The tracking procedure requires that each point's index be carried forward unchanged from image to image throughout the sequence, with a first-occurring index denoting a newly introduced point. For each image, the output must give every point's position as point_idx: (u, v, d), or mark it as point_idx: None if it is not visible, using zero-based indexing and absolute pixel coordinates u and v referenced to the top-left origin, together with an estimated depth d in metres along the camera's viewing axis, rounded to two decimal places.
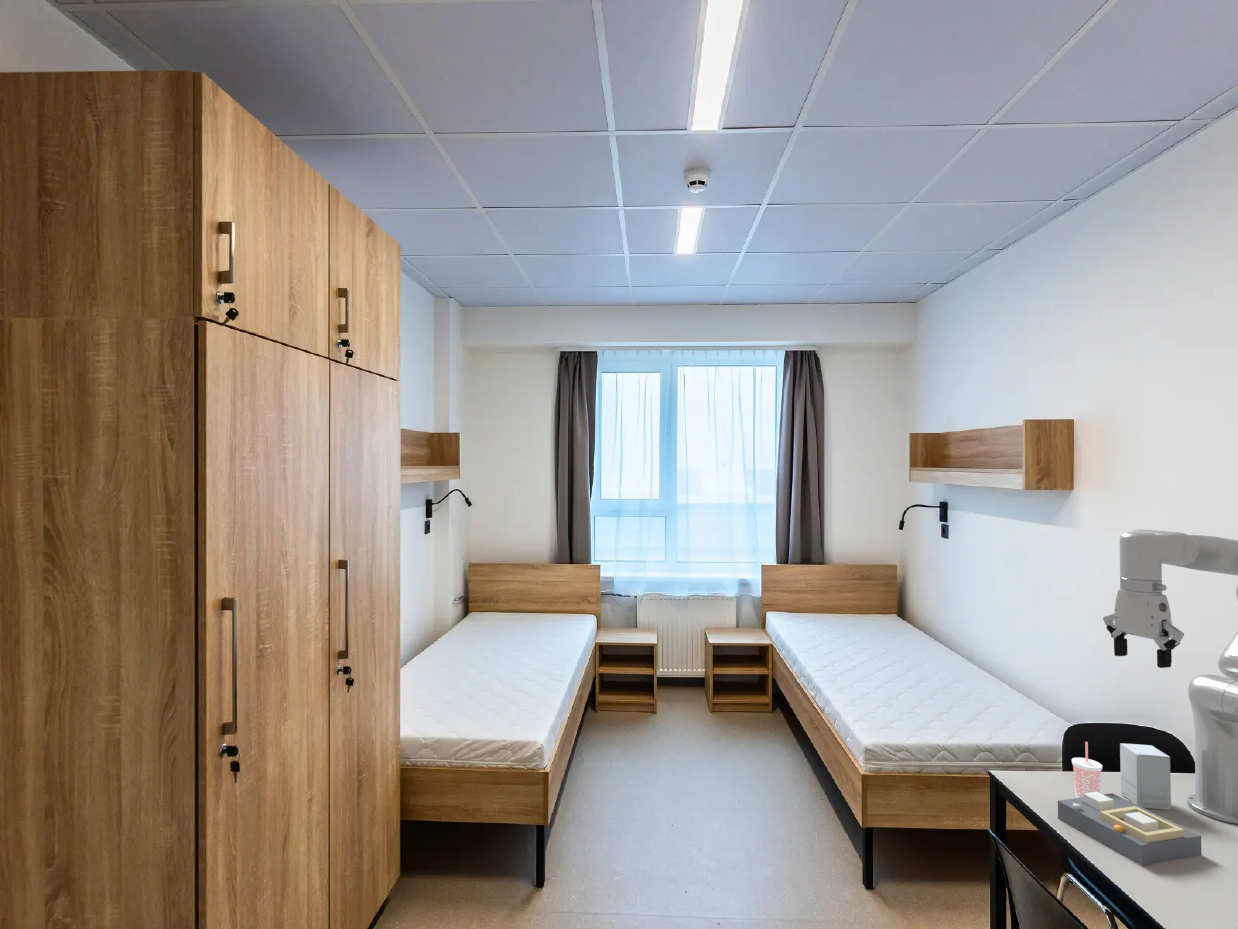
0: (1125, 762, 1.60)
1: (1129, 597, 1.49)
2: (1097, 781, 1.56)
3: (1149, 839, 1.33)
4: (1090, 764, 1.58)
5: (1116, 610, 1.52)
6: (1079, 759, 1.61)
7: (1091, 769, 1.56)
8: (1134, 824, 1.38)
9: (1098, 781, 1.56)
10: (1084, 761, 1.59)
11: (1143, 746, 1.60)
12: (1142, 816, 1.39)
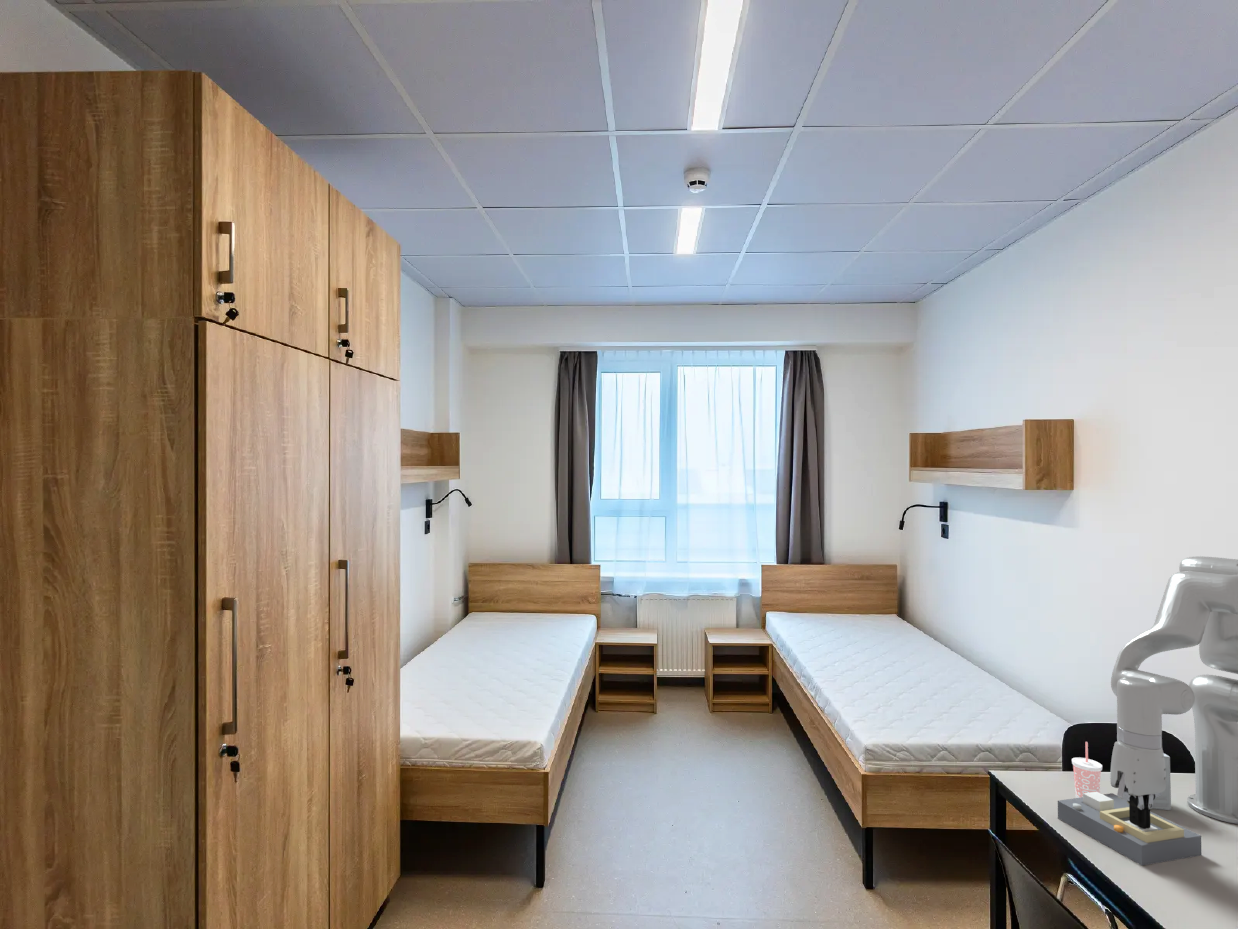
0: None
1: (1148, 755, 1.36)
2: (1097, 781, 1.56)
3: (1149, 839, 1.33)
4: (1090, 764, 1.58)
5: (1134, 773, 1.36)
6: (1079, 759, 1.61)
7: (1091, 769, 1.56)
8: None
9: (1098, 781, 1.56)
10: (1084, 761, 1.59)
11: None
12: None
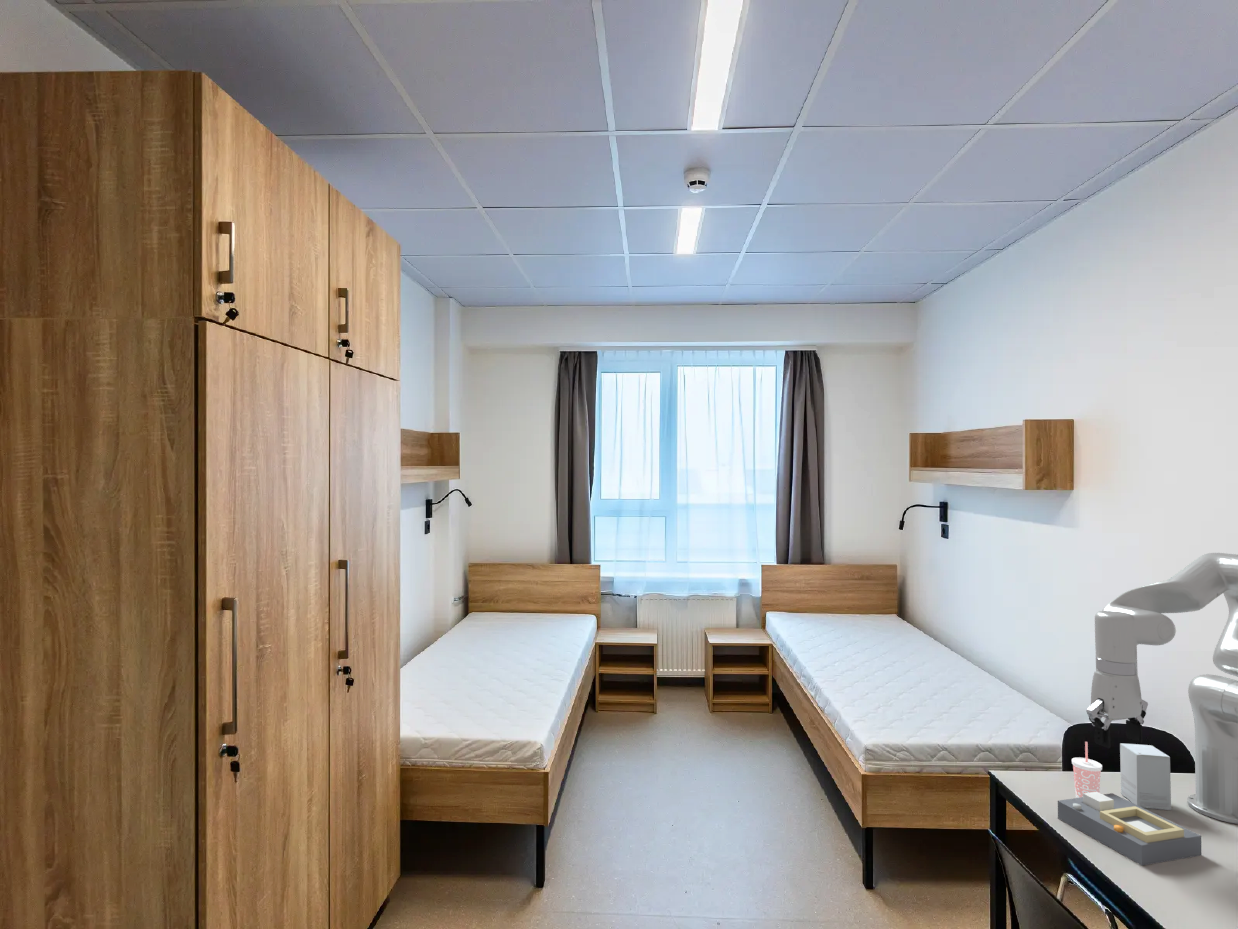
0: (1125, 762, 1.60)
1: (1125, 681, 1.45)
2: (1097, 781, 1.56)
3: (1149, 839, 1.33)
4: (1090, 764, 1.58)
5: (1113, 699, 1.44)
6: (1079, 759, 1.61)
7: (1091, 769, 1.56)
8: None
9: (1098, 781, 1.57)
10: (1084, 761, 1.59)
11: (1143, 746, 1.60)
12: (1142, 824, 1.39)
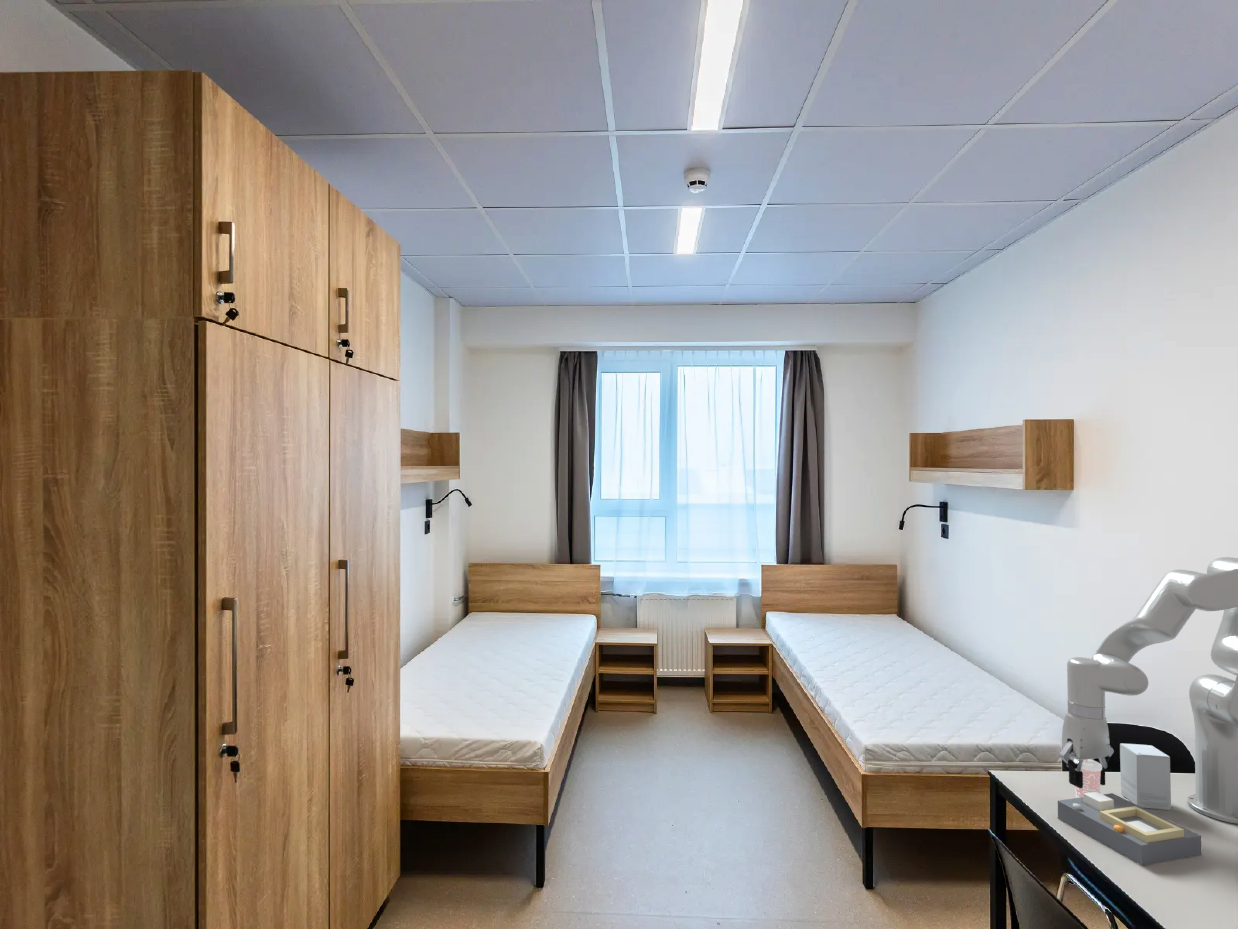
0: (1125, 762, 1.60)
1: (1093, 724, 1.57)
2: (1097, 781, 1.56)
3: (1149, 839, 1.33)
4: (1090, 764, 1.58)
5: (1081, 740, 1.56)
6: None
7: (1091, 769, 1.56)
8: None
9: (1098, 781, 1.57)
10: (1084, 761, 1.59)
11: (1143, 746, 1.60)
12: (1142, 824, 1.39)
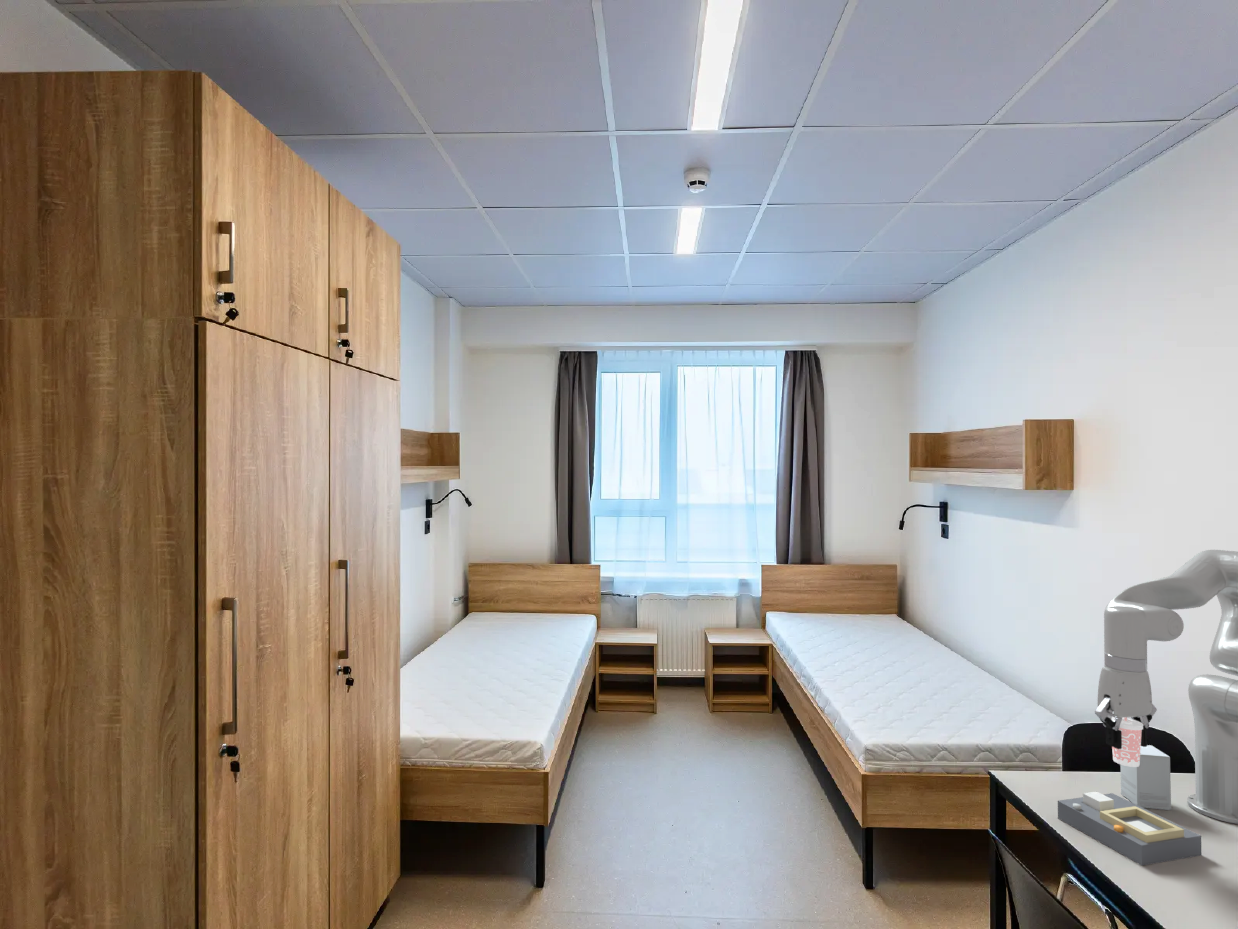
0: None
1: (1134, 678, 1.41)
2: (1138, 741, 1.41)
3: (1149, 839, 1.33)
4: (1129, 723, 1.42)
5: (1119, 695, 1.41)
6: None
7: (1131, 728, 1.41)
8: None
9: (1138, 741, 1.41)
10: (1123, 720, 1.44)
11: None
12: (1142, 824, 1.39)
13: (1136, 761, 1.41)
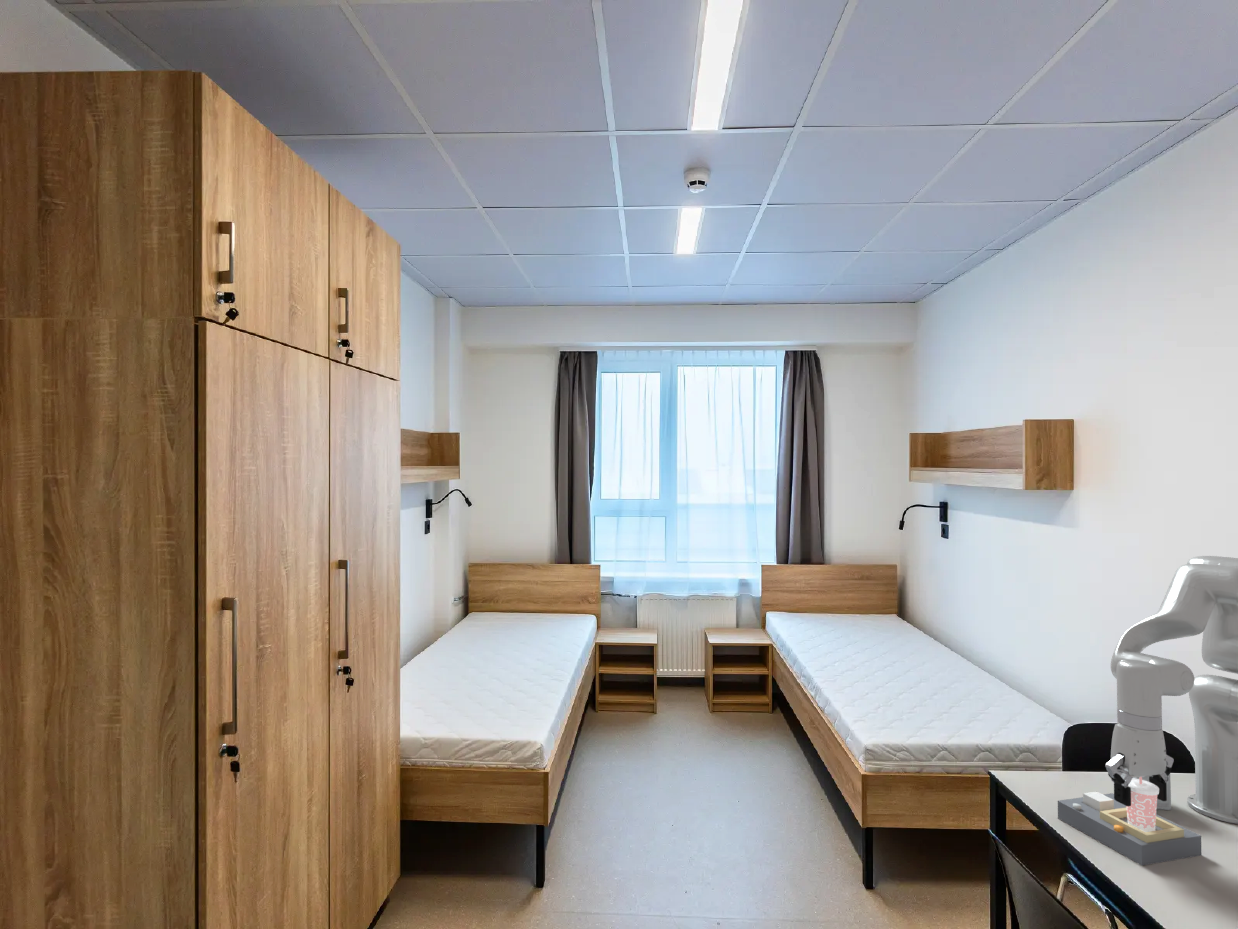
0: None
1: (1148, 736, 1.36)
2: (1154, 806, 1.36)
3: (1149, 839, 1.33)
4: (1145, 786, 1.38)
5: (1134, 755, 1.36)
6: (1131, 780, 1.41)
7: (1147, 793, 1.36)
8: None
9: (1154, 806, 1.36)
10: (1138, 783, 1.39)
11: None
12: None
13: (1152, 826, 1.36)
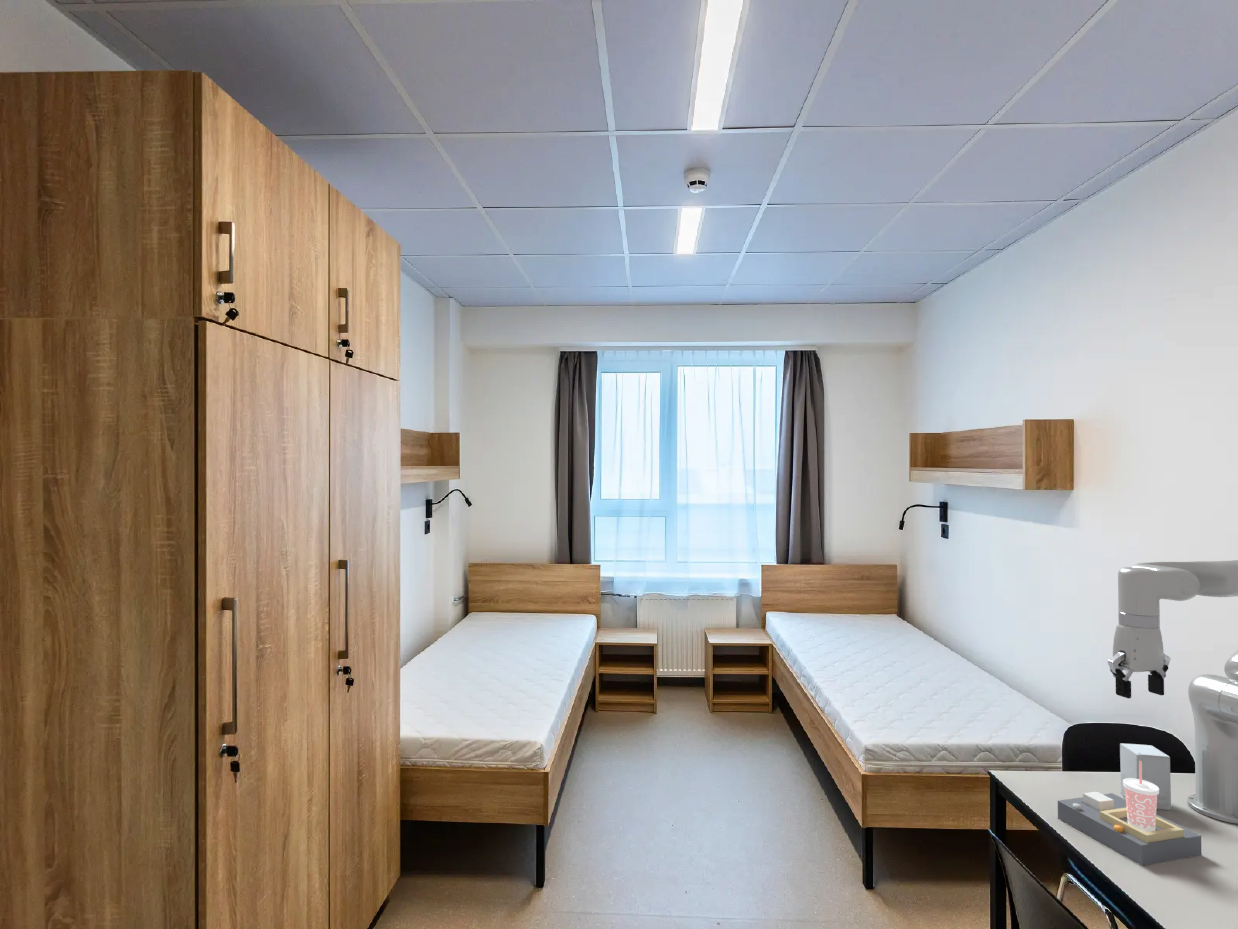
0: (1125, 762, 1.60)
1: (1147, 634, 1.49)
2: (1154, 806, 1.36)
3: (1149, 839, 1.33)
4: (1145, 786, 1.38)
5: (1134, 651, 1.48)
6: (1131, 780, 1.41)
7: (1147, 793, 1.36)
8: None
9: (1154, 806, 1.36)
10: (1138, 783, 1.39)
11: (1143, 746, 1.60)
12: None
13: (1152, 826, 1.36)
